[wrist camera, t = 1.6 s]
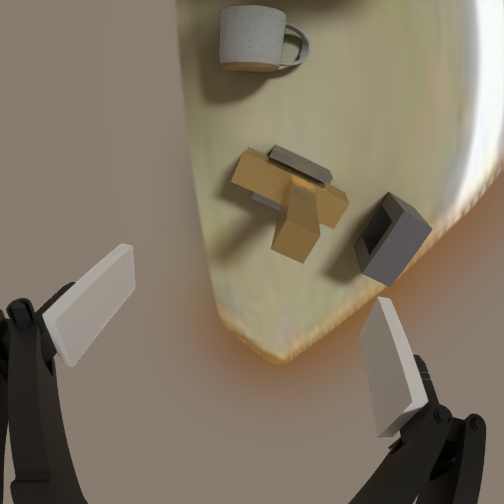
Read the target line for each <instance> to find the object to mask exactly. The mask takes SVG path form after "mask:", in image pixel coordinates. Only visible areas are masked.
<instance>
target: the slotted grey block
mask: <svg viewBox="0 0 504 504" xmlns="http://www.w3.org/2000/svg"><path fill="white" fill-rule="evenodd" d="M431 231H432V228H431V227H430V226H429V224H428V223H427V222H426V221H425V220H424V219H423V217H422V216H421V215H420V214H419V213H418V212H417V211H416V209H415V208H414V207H412V206H410V205H409V204H407V203H406V202H404V201H403V200H401V199H400V198H398V197H396V196H395V195H393V194H392V193H390V192H388V194H387V195H386V197H385V199H384V200H383V202H382V204H381V205H380V207H379V209H378V210H377V212H376V213H375V215H374V217H373V218H372V220H371V222H370V223H369V225H368V226H367V228H366V229H365V231H364V232H363V234H362V236H361V237H360V239H359V240H358V242H357V243H356V245H355V246H354V247H355V251H356V254H357V258H358V261H359V265H360V268H361V272H362V274H364V275H366V276H368V277H370V278H372V279H374V280H376V281H378V282H381V283H383V284H385V285H387V286H389V287H390V286H391V285H392V284H393V283H394V281H395V280H396V279H397V278H398V276H399V275H400V274H401V272H402V271H403V270H404V268H405V267H406V266H407V264H408V263H409V262H410V260H411V259H412V258H413V256H414V255H415V254H416V252H417V251H418V249H419V248H420V247H421V245H422V244H423V242H424V241H425V239H426V238H427V237H428V235H429V234H430V232H431Z"/></svg>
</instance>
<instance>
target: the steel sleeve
mask: <svg viewBox="0 0 504 504" xmlns="http://www.w3.org/2000/svg"><path fill="white" fill-rule="evenodd" d="M270 157H271V158H273V159H276V160H278V161H280V162H282V163H284V164H287V165H289V166H291V167H293V168H295V169H297V170H299V171H302V172H304V173H306V174H308V175H310V176H312V177H314V178H316V179H318V180H320V181H322V182H324V183H326V184H328V185H329V184H330V182H331V180H332V175H331V173H330V170H328V169H326V168H324V167H322V166H320V165H318V164H316V163H314V162H312V161H310V160H308V159H305V158H303V157H301V156H299V155H297V154H295V153H293V152H291V151H288V150H286V149H284V148H282V147H280V146H277V145H275V147H274V148H273V150H272V152H271V154H270ZM251 199H253V200H256V201H258V202H260V203H262V204H265V205H267V206H269V207H271V208H273V209H276V210H278V211H279V210H280V205H281V204H280V203H277V202H275V201H273V200H271V199H269V198H266V197H264V196H262V195H260V194H257V193H255V192H254V193H253V195H252V197H251Z"/></svg>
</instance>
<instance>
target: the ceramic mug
mask: <svg viewBox="0 0 504 504" xmlns="http://www.w3.org/2000/svg"><path fill="white" fill-rule="evenodd" d="M285 27H286V28H289V29H291V30H293V31H295V32H296V33H297V34H299V35H300V37H301V38H302V42H303V43H302V49H301V53H300V54H299V59H298V60H297V61H294V62H292V63H285V62H281V58H282V48H283V39H284V33H285ZM309 52H310V40H309V38H308V36H307V35H306V33H305V32H304V31H302V29H300V28H298V27H297V26H295V25H292V24H290V23H287V22H286V14H285V13H284V12H282V11H280V10H278V9H275V8H271V7H266V6H259V5H239V6H231V7H228V8H225V9H223V10H222V11H221V13H220V46H219V58H220V64H221V66H222V68H224V69H225V70H232V71H249V72H274V71H276V70H277V69H278V68H279V66H293V65H298V64H300V63H302V62H303V61H304V60H305V59H306V58H307V57H308V55H309Z"/></svg>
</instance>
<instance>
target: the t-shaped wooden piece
mask: <svg viewBox="0 0 504 504" xmlns="http://www.w3.org/2000/svg"><path fill="white" fill-rule="evenodd" d="M231 182H232V183H234V184H237V185H239V186H241V187H244V188H246V189H248V190H251V191H253V192H255V193H257V194H260V195H262V196H264V197H266V198H269V199H271V200H273V201H275V202H277V203H280V204H281V205H280V210H279V215H278V219H277V224H276V228H275V233H274V237H273V242H272V246H271V249H272V250H274V251H276V252H278V253H281V254H283V255H285V256H287V257H290V258H292V259H294V260H296V261H298V262H301V263H304V261H305V260H306V258H307V256H308V255H309V253H310V252H311V250H312V248H313V247H314V245H315V243H316V242H317V240H318V238H319V237H320V228H319V222H320V223H322V224H324V225H326V226H328V227H330V228H332V229H334V228H335V226H336V225H337V223H338V221H339V220H340V218H341V216H342V215H343V213H344V211H345V210H346V208H347V206H348V205H349V201H348V199H347V196H346V194H345V192H343V191H341V190H339V189H337V188H335V187H333V186H331V185H328V184H326V183H324V182H322V181H320V180H318V179H316V178H314V177H312V176H310V175H308V174H306V173H304V172H302V171H299V170H297V169H295V168H293V167H291V166H289V165H287V164H284V163H282V162H280V161H278V160H276V159H273V158H271V157H270V156H268V155H266V154H263V153H261V152H259V151H256V150H254V149H252V148H248V149H246V150H245V151H244V152H243V153H242V156H241V158H240V161H239V163H238V166H237V168H236V171H235V173H234V175H233V178H232V181H231Z"/></svg>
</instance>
